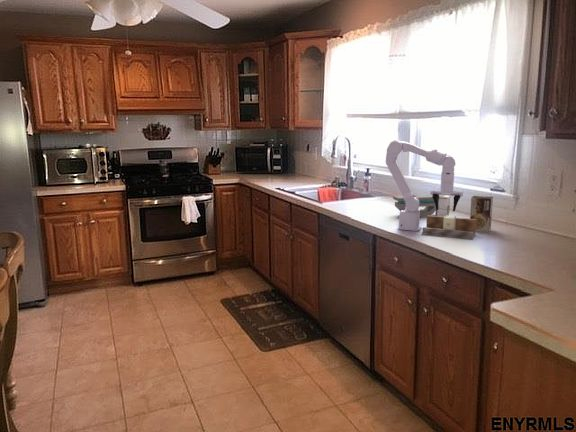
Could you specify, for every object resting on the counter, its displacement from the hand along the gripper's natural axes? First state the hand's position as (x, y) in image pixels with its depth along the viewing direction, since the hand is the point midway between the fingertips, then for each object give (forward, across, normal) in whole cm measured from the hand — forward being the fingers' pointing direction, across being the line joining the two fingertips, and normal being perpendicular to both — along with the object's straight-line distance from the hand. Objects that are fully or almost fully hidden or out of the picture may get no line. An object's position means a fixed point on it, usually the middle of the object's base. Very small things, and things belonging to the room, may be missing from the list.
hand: (445, 210), depth 224 cm
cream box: (+9, +3, -6) cm, 11 cm away
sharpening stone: (+10, -20, +30) cm, 37 cm away
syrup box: (+10, -4, +16) cm, 19 cm away
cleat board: (+10, +3, -7) cm, 12 cm away
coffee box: (+10, +15, +9) cm, 20 cm away
